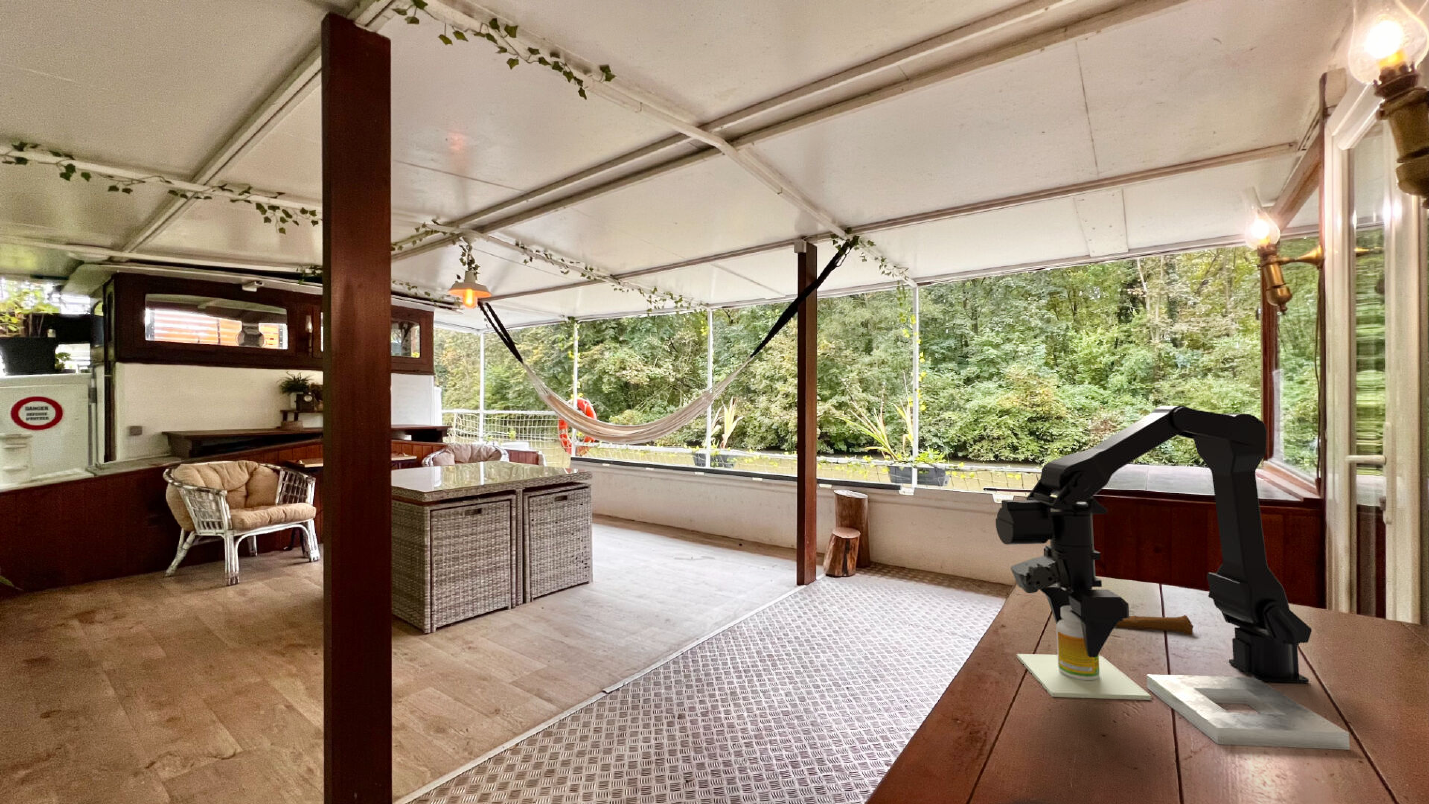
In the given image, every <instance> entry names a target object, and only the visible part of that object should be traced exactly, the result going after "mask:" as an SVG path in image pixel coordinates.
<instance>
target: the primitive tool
mask: <svg viewBox="0 0 1429 804" xmlns="http://www.w3.org/2000/svg"><path fill="white" fill-rule="evenodd" d="M1115 628H1122V629H1123V628H1126V629H1137V630H1147V631H1148V630H1150V631H1151V630H1152V631H1160V632H1161V631H1162V632H1174V633H1180V634H1184V635H1186V636H1187V635H1188V636H1193V633H1194V630H1193V629H1194V625H1193V623H1192V622H1191V620H1190V619H1189V617H1188V616H1187V614H1184V615H1182V616H1176V617H1174V616H1172V617H1170V616H1167V617H1166V616H1165V617H1163V616H1161V617H1160V616H1137V615H1129V618H1124V619H1123V621H1119V622H1118V623H1117V625H1116V626H1115Z"/></svg>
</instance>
